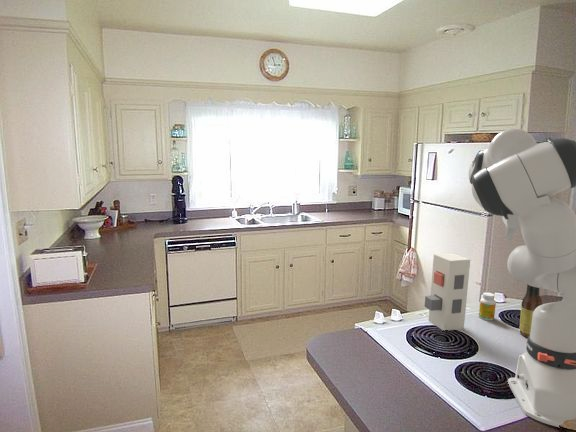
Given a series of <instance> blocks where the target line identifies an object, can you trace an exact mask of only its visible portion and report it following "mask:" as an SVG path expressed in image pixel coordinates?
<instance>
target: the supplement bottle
mask: <svg viewBox="0 0 576 432" xmlns="http://www.w3.org/2000/svg"><path fill="white" fill-rule="evenodd" d="M495 298H496V297H495V294H494V293H492V292H483V294H482V298H480V302H479V310H478V317H479V319H481V320H484V321H493V320H495V313H496V305H497V301H496V300H495Z"/></svg>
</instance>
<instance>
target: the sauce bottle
mask: <svg viewBox="0 0 576 432" xmlns="http://www.w3.org/2000/svg"><path fill="white" fill-rule="evenodd" d="M526 286H527V287H526V290H525V291H526V292H525V295H524V297H523V298H522V301H521V303H520V305H521V306H520V316H519V317H520V318H519V327H518V328H519V334H520V335H521V336H523V337H524V338H527V339H528V336H529V335H530V331H531V323H532V315H533V312H534V310H535V309H536V308H537V307H538V306H540V305H542V304H543V300H542V297H541V296H540V289H541V288H537V287H533V286H530V285H527V284H526Z"/></svg>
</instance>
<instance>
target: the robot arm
mask: <svg viewBox="0 0 576 432" xmlns="http://www.w3.org/2000/svg"><path fill="white" fill-rule="evenodd" d="M471 162H472V163H471V164H470V166H469V169H468V180H469V183H470V184H471V192H472V196H473V198H474V200H475V201H476V203H477V204H478V205H479V206H480V207H481V208H483V210H484V211H485V212H486V213H489V214H491V215H493V216H499V217H502V219H501V220H502V222H503V223H504V225H505V239H506V240H508V241H513V239H514V238H513V237H514V233H515V231H520V230H521V231H520V232H521V236H522V240H523V242H524V244H523V245H518V246H516V247H515V248H513V250H511V252H510V254H509V255H508V258H507V263H506V265H507V266H506V267H507V271H508V273H509V275H510V276H511V278H512V279H513V280H515V281H518V282H520V283H522V284H525V285H526V286H527V285H530V286H533V287H537V288H540V289H543V290H545V291H550V292H555V293H558V294H559V293H560V294H562V295H563V296H562V300H559V301H554V302H546V303H542V305H540V306H538V307H537V308H536V309H535V310H534V312H533V315H532V323H531V331H530V335H529V336H528V338H527V339H526V343H525V344H526V346H525V347H526V348H525V349H526V350H525V352H523V353H521V354H520V355H518V359H517V366H516V371H515V376H513V377H509V378H508V379H507V382H508V383H507V385H508V384H509V385H508V386H509V388H510V390H511V392H512V393H513V395H514V397H515V399H516V401H517V403H518V406H520V408H521V410H522V412H523V414H524V415H525V416H527V417H529V418H531V419H532V420H536V421H538V422H539V423H543V424H546V425H550V426H552V427H557V428H560V427H559V425H561V424H563V423H564V421H566V420H572V419H575V418H576V213H575V212H574V210H573V209H572V208H571V206H570V205H569V204H568V203H566V202H565V201H564V200H561V199H559V198H556V197H553V196H555V195H557V194H559V193H561V192H563V191H566V190H567V189H569V188H571V189H574V188H575V187H576V140H573V139H569V138H566V137H565V138H563V137H562V138H551V137H550V136H548V137H545V141H544V140H543V141H541V142H540V143H537V141H536V138H534V136H533V135H532V134H531V133H529V132H528V131H526V130H524V129H521V128H508V129H505V130H502V131H500V132H499V133H498V134H496V135H495V136H494V137H493V138H492V140H491V142H490V143H489V145H488V147H487V148H484V149H482V150H480V151H478V152H477V154H476V155H475V157H474V160H473V161H471ZM560 429H561V428H560Z"/></svg>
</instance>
